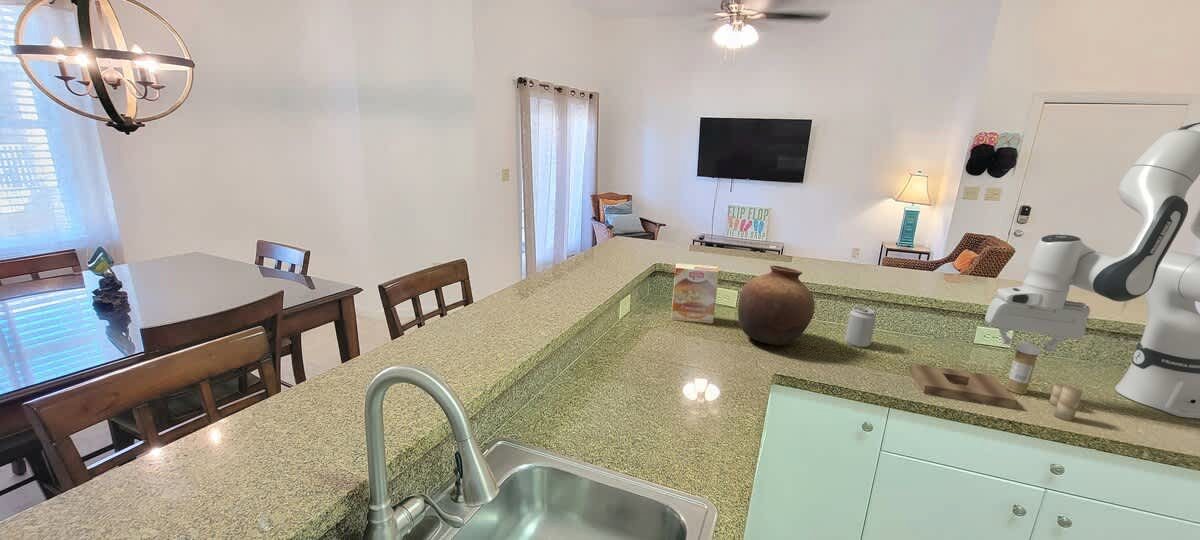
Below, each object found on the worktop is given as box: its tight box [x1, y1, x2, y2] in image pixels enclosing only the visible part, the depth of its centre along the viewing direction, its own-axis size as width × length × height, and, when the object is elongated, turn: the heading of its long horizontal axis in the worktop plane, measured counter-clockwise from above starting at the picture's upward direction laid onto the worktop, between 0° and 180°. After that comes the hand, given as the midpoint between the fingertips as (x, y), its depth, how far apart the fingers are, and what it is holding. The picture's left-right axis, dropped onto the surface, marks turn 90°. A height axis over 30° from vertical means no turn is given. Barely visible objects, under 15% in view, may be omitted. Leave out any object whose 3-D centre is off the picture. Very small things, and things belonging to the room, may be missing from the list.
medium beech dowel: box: [1054, 385, 1083, 422], centre depth 117 cm, size 3×3×8 cm
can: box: [844, 306, 877, 349], centre depth 156 cm, size 8×8×12 cm
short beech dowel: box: [1048, 383, 1065, 408], centre depth 123 cm, size 3×3×5 cm
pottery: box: [737, 264, 816, 346], centre depth 154 cm, size 23×23×25 cm
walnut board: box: [908, 362, 1018, 410], centre depth 130 cm, size 20×14×2 cm
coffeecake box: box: [670, 262, 720, 324], centre depth 172 cm, size 15×7×20 cm, turn 81°
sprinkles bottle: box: [1005, 341, 1041, 395], centre depth 129 cm, size 5×5×13 cm
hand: (1026, 347), depth 127 cm, fingers open, 8 cm apart
